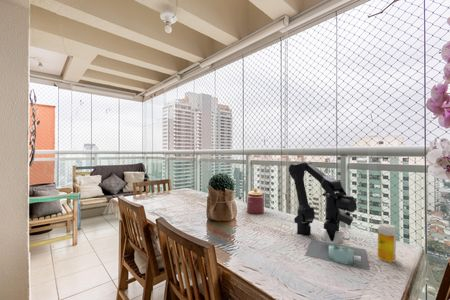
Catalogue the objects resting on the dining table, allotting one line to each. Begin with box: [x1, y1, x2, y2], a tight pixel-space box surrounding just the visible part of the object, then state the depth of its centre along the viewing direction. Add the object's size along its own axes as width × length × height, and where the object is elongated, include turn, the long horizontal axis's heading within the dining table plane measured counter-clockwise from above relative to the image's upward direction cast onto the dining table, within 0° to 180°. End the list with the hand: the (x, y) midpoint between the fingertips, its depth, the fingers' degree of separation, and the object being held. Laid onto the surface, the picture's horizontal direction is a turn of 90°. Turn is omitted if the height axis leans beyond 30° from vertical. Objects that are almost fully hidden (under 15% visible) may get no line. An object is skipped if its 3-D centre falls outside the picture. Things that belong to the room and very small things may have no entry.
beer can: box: [377, 222, 397, 263], centre depth 94 cm, size 6×6×15 cm
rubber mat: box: [304, 239, 371, 271], centre depth 99 cm, size 24×20×1 cm
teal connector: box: [329, 245, 361, 266], centre depth 92 cm, size 12×4×5 cm, turn 61°
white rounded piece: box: [321, 227, 350, 245], centre depth 105 cm, size 12×4×5 cm, turn 61°
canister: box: [246, 188, 265, 215], centre depth 165 cm, size 13×13×18 cm
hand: (332, 239), depth 106 cm, fingers closed on white rounded piece, 4 cm apart
